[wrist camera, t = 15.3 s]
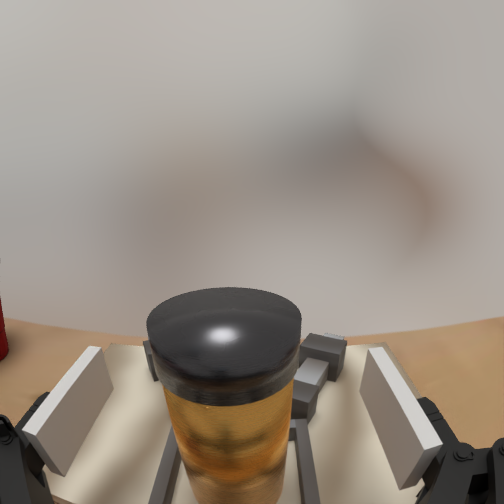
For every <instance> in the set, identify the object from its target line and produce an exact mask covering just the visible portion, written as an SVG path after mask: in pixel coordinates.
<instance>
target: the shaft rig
mask: <svg viewBox="0 0 504 504" xmlns="http://www.w3.org/2000/svg"><path fill="white" fill-rule="evenodd" d="M143 345H144V346H132V345H121V344H110V346H109V347H108V348H107V349H106V351H105V352H104V353H103V355H104V359H105V362H106V365H107V369H108V372H109V375H110V378H111V381H112V384H113V387H114V390H113V391H112V393H111V395H110V397H109V398H108V400H107V402H106V403H105V405H104V407H103V409H102V410H101V412H100V414H99V416H98V417H97V419H96V421H95V423H94V424H93V426H92V428H91V430H90V432H89V433H88V435H87V437H86V439H85V441H84V442H83V444H82V446H81V448H80V450H79V452H78V453H77V455H76V457H75V459H74V461H73V463H72V465H71V467H70V468H69V470H68V472H67V474H66V476H65V477H62V476H60V475H57V474H55V473H52V472H51V471H50V470H49V469H48V467H47V466H46V465H44V467H43V470H44V472H45V474H46V478H47V481H48V485H49V488H50V492H51V495H52V498H53V501H54V502H57V503H59V504H199V503H198V502H197V500H196V499H195V496H194V494H193V491H192V488H191V486H190V483H189V480H188V477H187V474H186V471H185V467H184V464H183V461H182V458H181V455H180V451H179V448H178V444H177V441H176V438H175V434H174V430H173V427H172V423H171V419H170V415H169V411H168V407H167V403H166V399H165V395H164V391H163V386H162V383H161V382H160V381H159V379H158V377H157V375H156V372H155V367H154V363H153V358H152V353H151V348H150V343H149V337H148V340H147V341H143ZM376 347H383V349H384V350H385V352H386V353H387V355H388V356H389V358H390V359H391V361H392V362H393V364H394V365H395V367H396V368H397V370H398V371H399V373H400V375H401V376H402V378H403V379H404V381H405V382H406V384H407V386H408V387H409V389H410V390H411V392H412V393H413V395H414V397H415V398H416V399H418V398H422V396H421V395H420V393H419V392H418V390H417V389H416V387H415V385H414V384H413V382H412V381H411V379H410V378H409V376H408V375H407V373H406V372H405V370H404V369H403V367H402V366H401V364H400V363H399V361H398V360H397V358H396V357H395V355H394V354H393V352H392V351H391V349H390V348H389V346H388V345H387V344H386V342H383V343H374V344H364V345H353V346H347V341H345V340H344V337H343V336H338V335H333V334H328V333H325V334H324V335H323V336H321V335H317V334H312V333H310V334H309V335H308V336H307V337H306V339H305V340H304V341H303V342H302V343H301V345H300V352H299V364H298V369H297V372H296V374H295V376H294V382H293V395H292V407H291V418H290V429H289V439H288V449H287V458H286V467H285V475H284V483H283V490H282V494H281V496H280V498H279V500H278V502H277V503H276V504H415V502H416V500H417V498H418V497H416V495H417V494H418V493H419V491H420V490H421V489H422V487H423V486H424V485H425V484H424V482H423V479H422V478H421V479H420V481H419V482H418V484H417V485H416V486H413V487H410V488H406V489H403V490H400V491H399V489H398V486H397V483H396V481H395V478H394V475H393V473H392V470H391V468H390V465H389V463H388V460H387V458H386V455H385V453H384V450H383V448H382V445H381V443H380V440H379V438H378V435H377V433H376V430H375V428H374V425H373V423H372V421H371V418H370V416H369V413H368V411H367V409H366V406H365V404H364V402H363V399H362V397H361V395H360V392H359V389H360V385H361V381H362V376H363V371H364V366H365V362H366V356H367V351H368V348H376Z"/></svg>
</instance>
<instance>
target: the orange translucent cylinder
mask: <svg viewBox="0 0 504 504" xmlns="http://www.w3.org/2000/svg"><path fill="white" fill-rule="evenodd" d="M301 320H302V318H301V313H300V311H299V309H298V308H297V306H296V305H294V304H293V303H292V302H291V301H289V300H288V299H286V298H284V297H282V296H279V295H277V294H274V293H271V292H267V291H262V290H257V289H250V288H249V289H248V288H236V287H225V288H211V289H203V290H197V291H193V292H188V293H184V294H181V295H178V296H175V297H173V298H170V299H168V300H166V301H164V302H162V303H161V304H159V305H158V306H157V307H156V308H154V309H153V310H152V312H151V313H150V314H149V316H148V318H147V331H148V337H149V343H150V348H151V353H152V358H153V363H154V367H155V372H156V375H157V377H158V379H159V381H160V382H161V383H162V386H163V391H164V395H165V399H166V403H167V407H168V411H169V415H170V419H171V423H172V427H173V430H174V434H175V438H176V441H177V444H178V448H179V451H180V455H181V458H182V461H183V464H184V467H185V471H186V474H187V477H188V480H189V483H190V486H191V488H192V491H193V494H194V496H195V499H196V500H197V502H198V503H199V504H276V503H277V502H278V500H279V498H280V496H281V494H282V490H283V483H284V475H285V467H286V458H287V449H288V439H289V429H290V418H291V407H292V395H293V382H294V376H295V374H296V372H297V369H298V364H299V352H300V337H301Z"/></svg>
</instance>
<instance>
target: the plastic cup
mask: <svg viewBox="0 0 504 504" xmlns="http://www.w3.org/2000/svg"><path fill="white" fill-rule="evenodd" d="M4 327H5V324H4V318H3V313H2V306H1V299H0V360H2V359H3V358H4V357H5V356H6V355H7V353H8V351H9V350H8V342H7V338H6V333H5V328H4Z"/></svg>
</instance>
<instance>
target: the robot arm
mask: <svg viewBox="0 0 504 504" xmlns="http://www.w3.org/2000/svg"><path fill="white" fill-rule="evenodd" d="M113 390H114V387H113V384H112V381H111V378H110V375H109V372H108V369H107V365H106V362H105V359H104V355H103V352H102V348H101V347H94V346H89V347H88V348H87V349H86V350H85V351H84V353H83V354H82V355H81V356H80V357H79V358H78V360H77V361H76V362H75V363H74V364H73V366H72V367H71V368H70V369H69V370H68V372H67V373H66V374H65V375H64V376H63V378H62V379H61V380H60V381H59V383H58V384H57V385H56V386H55V388H54V389H53V390H52V391H51V393H50V392H46V393H44V394H43V395H41V396H40V397H38V399H37V400H36V401H35V402H34V404H33V405H32V406H31V407H30V409H29V411H27V412H26V414H25V415H24V416H23V417H22V419H21V420H20V421H19V422H18V424H17V425H16V426H15V428H14V427H13V425H12V424H11V422H10V420H9V419H8V418H7V417H6V416H5V415H2V414H0V504H54V501H53V498H52V495H51V492H50V488H49V485H48V481H47V478H46V474H45V472H44V470H43V467H44V465H46V466H47V467H48V469H49V470H50V471H51V472H52V473H55V474H57V475H60V476H62V477H65V476H66V474H67V472H68V470H69V468H70V467H71V465H72V463H73V461H74V459H75V457H76V455H77V453H78V452H79V450H80V448H81V446H82V444H83V442H84V441H85V439H86V437H87V435H88V433H89V432H90V430H91V428H92V426H93V424H94V423H95V421H96V419H97V417H98V416H99V414H100V412H101V410H102V409H103V407H104V405H105V403H106V402H107V400H108V398H109V397H110V395H111V393H112V391H113ZM359 392H360V395H361V397H362V399H363V402H364V404H365V406H366V409H367V411H368V413H369V416H370V418H371V421H372V423H373V425H374V428H375V430H376V433H377V435H378V438H379V440H380V443H381V445H382V448H383V450H384V453H385V455H386V458H387V460H388V463H389V465H390V468H391V470H392V473H393V475H394V478H395V481H396V483H397V486H398V489H399V491H400V490H403V489H406V488H410V487H413V486H416V485H417V484H418V482H419V481H420V479H421V478H422V479H423V482H424V484H425V485H424V486H423V487H422V489H421V490H420V491H419V493H418V494H417V495H416V497H418V498H417V500H416V502H415V504H504V438H500V439H498V440H497V441H495V443H494V444H493V446H492V447H491V448H483V449H474V448H473V447H472V446H471V445H469V444H467V443H460V442H459V441H458V439H457V438H456V436H455V434H454V433H453V431H452V430H451V428H450V427H449V425H448V424H447V422H446V420H445V419H443V418H444V417H443V416H442V414H441V413H439V410H438V408H437V407H436V405H435V404H434V403H433V402H432V401H430V400H429V399H428V398H426V397H423V398H418V399H416V398H415V397H414V395H413V393H412V392H411V390H410V389H409V387H408V386H407V384H406V382H405V381H404V379H403V378H402V376H401V375H400V373H399V371H398V370H397V368H396V367H395V365H394V364H393V362H392V361H391V359H390V358H389V356H388V355H387V353H386V352H385V350H384V349H383V347H376V348H368V351H367V356H366V362H365V366H364V371H363V376H362V381H361V385H360V389H359Z"/></svg>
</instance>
